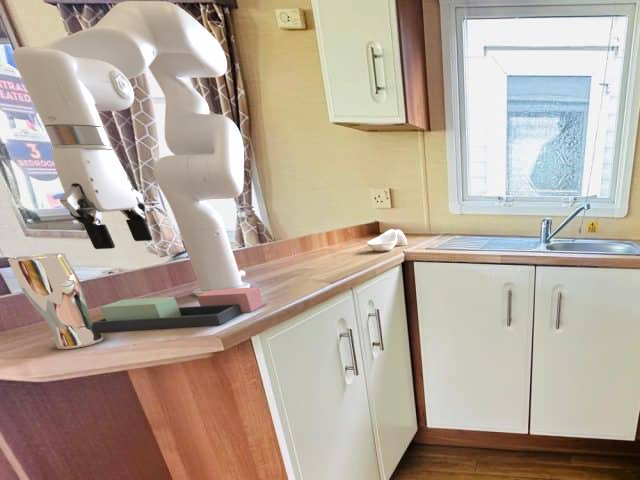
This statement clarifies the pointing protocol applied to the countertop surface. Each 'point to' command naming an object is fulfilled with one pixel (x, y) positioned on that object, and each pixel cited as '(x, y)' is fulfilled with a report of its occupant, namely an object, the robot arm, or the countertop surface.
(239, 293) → the pad rose
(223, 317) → the frame
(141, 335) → the countertop surface
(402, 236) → the spoon rest
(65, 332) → the chrome vase
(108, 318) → the pad sage
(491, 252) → the countertop surface
